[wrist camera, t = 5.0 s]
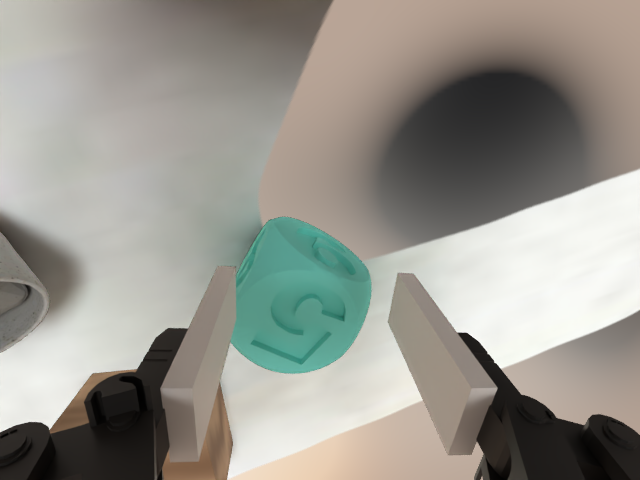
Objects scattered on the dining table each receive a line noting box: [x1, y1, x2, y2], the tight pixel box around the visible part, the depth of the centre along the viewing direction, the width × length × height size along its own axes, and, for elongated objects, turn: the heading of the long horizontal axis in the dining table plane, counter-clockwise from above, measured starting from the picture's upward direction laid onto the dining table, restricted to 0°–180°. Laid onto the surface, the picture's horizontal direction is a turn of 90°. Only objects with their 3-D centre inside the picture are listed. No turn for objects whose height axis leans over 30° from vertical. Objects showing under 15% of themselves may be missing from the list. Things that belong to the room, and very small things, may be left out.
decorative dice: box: [230, 217, 371, 373], centre depth 23 cm, size 8×8×8 cm
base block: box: [49, 369, 233, 480], centre depth 29 cm, size 11×11×6 cm
